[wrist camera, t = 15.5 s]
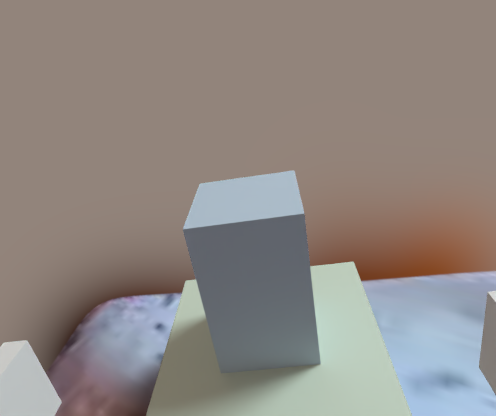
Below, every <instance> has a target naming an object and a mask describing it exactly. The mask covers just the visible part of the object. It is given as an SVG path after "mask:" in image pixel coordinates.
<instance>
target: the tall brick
mask: <svg viewBox="0 0 496 416" xmlns="http://www.w3.org/2000/svg"><path fill="white" fill-rule="evenodd" d="M183 232H184V235H185V239H186V243H187V247H188V251H189V254H190V258H191V262H192V266H193V269H194V274H195V277H196V281H197V285H198V289H199V292H200V296H201V300H202V304H203V308H204V311H205V315H206V319H207V323H208V327H209V330H210V334H211V338H212V342H213V346H214V349H215V353H216V357H217V361H218V364H219V368H220V372H221V373H231V372H242V371H253V370H264V369H274V368H285V367H296V366H307V365H317V364H321V361H320V352H319V343H318V334H317V325H316V316H315V307H314V297H313V288H312V279H311V270H310V261H309V252H308V243H307V235H306V225H305V215H304V210H303V206H302V201H301V197H300V193H299V188H298V184H297V180H296V176H295V171H287V172H280V173H273V174H266V175H259V176H251V177H244V178H237V179H230V180H223V181H216V182H209V183H202V184H200V185H199V187H198V190H197V193H196V195H195V198H194V201H193V203H192V206H191V209H190V211H189V214H188V217H187V219H186V222H185V225H184V227H183Z"/></svg>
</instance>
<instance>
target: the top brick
mask: <svg viewBox="0 0 496 416" xmlns="http://www.w3.org/2000/svg"><path fill="white" fill-rule="evenodd" d="M310 270H311V279H312V288H313V297H314V307H315V316H316V325H317V334H318V343H319V352H320V361H321V364H317V365H307V366H296V367H285V368H274V369H264V370H253V371H242V372H231V373H221V372H220V368H219V364H218V361H217V357H216V353H215V349H214V346H213V342H212V338H211V334H210V330H209V327H208V323H207V319H206V315H205V311H204V308H203V304H202V300H201V296H200V292H199V289H198V285H197V281H196V280H188V281H186V282H185V285H184V289H183V292H182V295H181V299H180V302H179V305H178V309H177V312H176V316H175V319H174V322H173V326H172V329H171V333H170V336H169V339H168V343H167V346H166V349H165V353H164V356H163V360H162V363H161V366H160V370H159V373H158V377H157V380H156V383H155V387H154V390H153V393H152V397H151V400H150V404H149V407H148V410H147V414H146V416H412V414H411V412H410V409H409V406H408V404H407V401H406V399H405V396H404V393H403V391H402V388H401V385H400V383H399V380H398V377H397V375H396V372H395V370H394V367H393V364H392V362H391V359H390V356H389V354H388V351H387V349H386V346H385V343H384V341H383V338H382V335H381V333H380V330H379V327H378V325H377V322H376V320H375V317H374V314H373V312H372V309H371V306H370V304H369V301H368V299H367V296H366V293H365V291H364V288H363V285H362V283H361V280H360V277H359V275H358V272H357V270H356V267H355V264H354V262H346V263H337V264H329V265H320V266H311V267H310Z"/></svg>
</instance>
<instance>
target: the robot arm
mask: <svg viewBox="0 0 496 416" xmlns="http://www.w3.org/2000/svg"><path fill="white" fill-rule="evenodd" d="M479 368H480V370H481V371H482V373H483V375H484V376H485V378H486V380H487V381H488V383H489V384H490V386H491V388H492V389H493V391H494V393H495V394H496V291H493V292H488V293H487V302H486V310H485V319H484V327H483V336H482V344H481V353H480V361H479ZM60 404H61V400H60V398H59V397H58V395H57V393H56V391H55V389H54V388H53V386H52V384H51V382H50V380H49V379H48V377H47V375H46V373H45V371H44V370H43V368H42V367H41V364H40V362H39V361H38V359H37V357H36V355H35V354H34V352H33V350H32V348H31V347H30V345H29V343H28V341H27V340H26V341H15V342H6V343H3V344H2V346H1V347H0V416H55V414H56V412H57V410H58V408H59V406H60Z"/></svg>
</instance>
